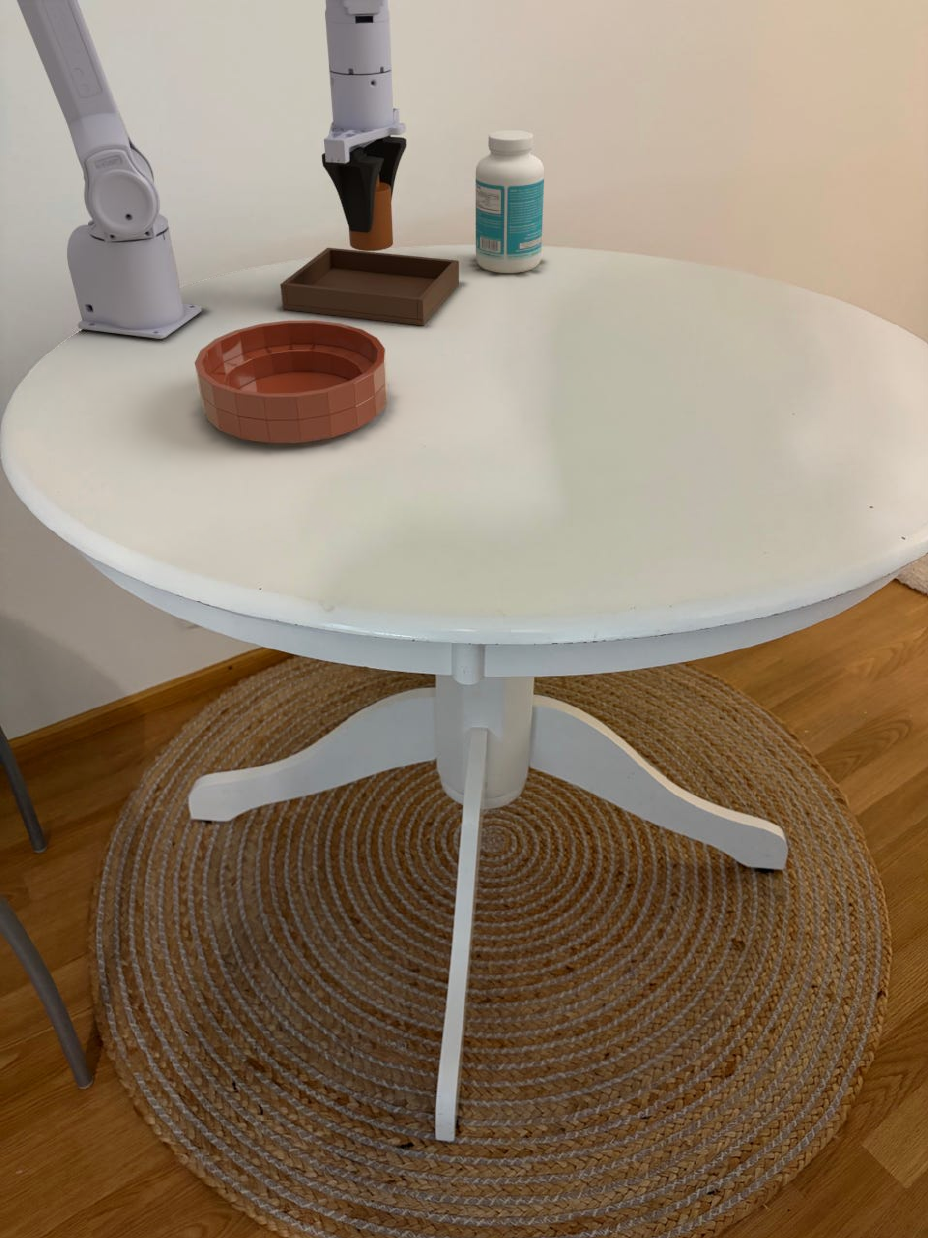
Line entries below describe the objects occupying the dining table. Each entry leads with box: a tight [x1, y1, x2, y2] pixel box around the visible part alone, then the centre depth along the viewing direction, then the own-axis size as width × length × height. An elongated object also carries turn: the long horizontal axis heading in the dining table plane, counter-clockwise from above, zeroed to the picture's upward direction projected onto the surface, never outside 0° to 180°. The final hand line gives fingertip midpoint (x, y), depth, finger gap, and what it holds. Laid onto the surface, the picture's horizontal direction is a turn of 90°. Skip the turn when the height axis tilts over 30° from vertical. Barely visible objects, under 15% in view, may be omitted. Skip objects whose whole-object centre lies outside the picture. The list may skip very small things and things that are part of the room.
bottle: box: [348, 156, 394, 252], centre depth 95 cm, size 4×4×8 cm
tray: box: [279, 247, 460, 327], centre depth 100 cm, size 15×12×3 cm
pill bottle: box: [475, 129, 545, 274], centre depth 104 cm, size 8×7×14 cm
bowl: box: [194, 319, 388, 444], centre depth 79 cm, size 15×15×4 cm
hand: (369, 223), depth 96 cm, fingers closed on bottle, 4 cm apart
